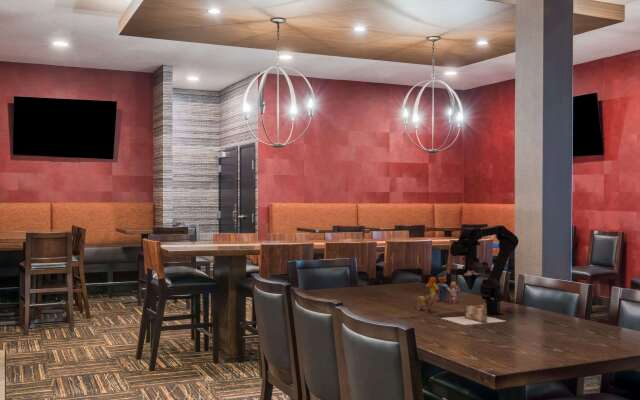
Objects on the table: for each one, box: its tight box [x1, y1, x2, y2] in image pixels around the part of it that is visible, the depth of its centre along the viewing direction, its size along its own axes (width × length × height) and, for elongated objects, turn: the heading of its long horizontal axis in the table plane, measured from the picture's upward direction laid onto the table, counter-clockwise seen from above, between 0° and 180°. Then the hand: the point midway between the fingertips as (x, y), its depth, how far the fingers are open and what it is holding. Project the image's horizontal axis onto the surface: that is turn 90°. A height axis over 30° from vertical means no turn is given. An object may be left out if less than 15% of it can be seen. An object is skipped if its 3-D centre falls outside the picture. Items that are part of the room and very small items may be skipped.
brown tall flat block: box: [464, 304, 488, 322], centre depth 303 cm, size 13×2×6 cm, turn 28°
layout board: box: [440, 315, 506, 326], centre depth 304 cm, size 22×17×1 cm
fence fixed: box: [469, 302, 486, 309], centre depth 310 cm, size 9×2×6 cm, turn 114°
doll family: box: [425, 276, 461, 304], centre depth 357 cm, size 21×10×13 cm, turn 34°
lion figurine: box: [413, 293, 439, 313], centre depth 329 cm, size 15×5×9 cm, turn 37°
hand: (470, 289), depth 313 cm, fingers closed
